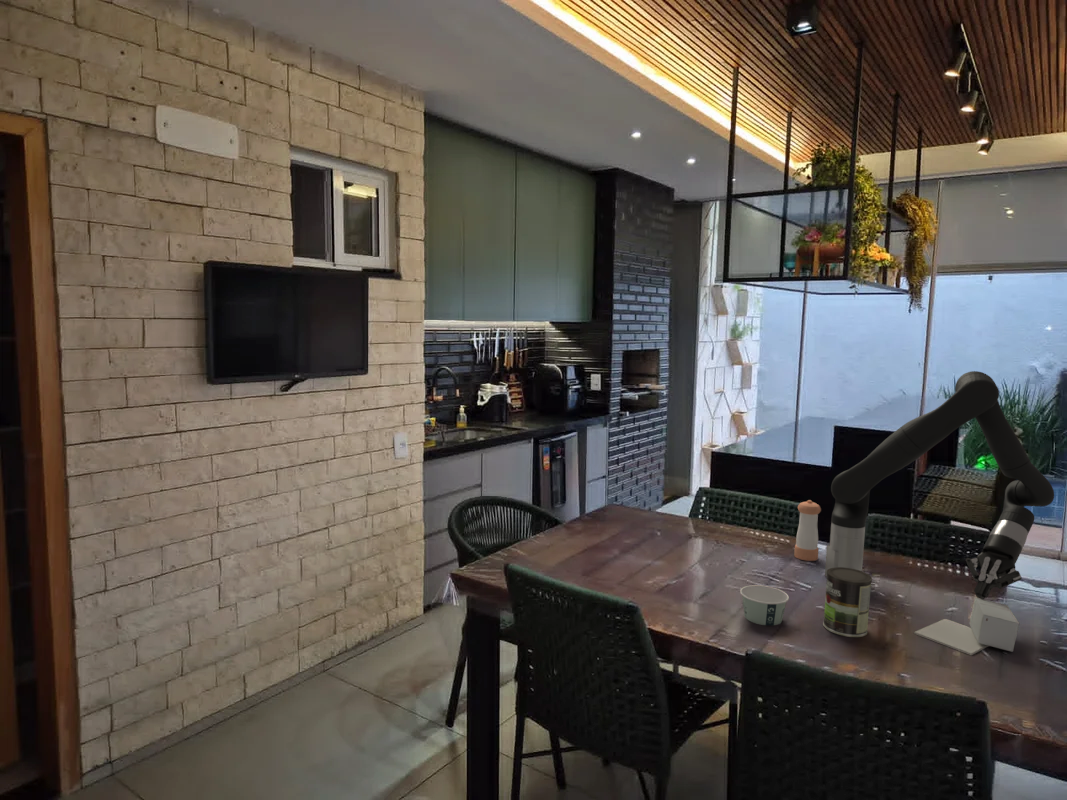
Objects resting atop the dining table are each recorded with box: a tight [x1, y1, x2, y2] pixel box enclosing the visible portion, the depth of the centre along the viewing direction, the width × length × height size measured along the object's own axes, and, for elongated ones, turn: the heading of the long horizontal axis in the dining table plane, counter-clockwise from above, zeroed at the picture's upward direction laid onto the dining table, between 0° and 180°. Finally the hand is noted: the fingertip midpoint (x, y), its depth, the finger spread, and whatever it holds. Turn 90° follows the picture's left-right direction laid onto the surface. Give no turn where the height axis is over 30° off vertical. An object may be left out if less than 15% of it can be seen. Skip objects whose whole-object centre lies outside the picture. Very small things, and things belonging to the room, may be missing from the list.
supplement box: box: [969, 597, 1020, 652], centre depth 166 cm, size 7×7×13 cm
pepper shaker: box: [793, 499, 822, 562], centre depth 224 cm, size 7×7×19 cm
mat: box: [913, 618, 989, 656], centre depth 168 cm, size 15×13×1 cm
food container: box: [739, 584, 790, 627], centre depth 177 cm, size 12×12×6 cm
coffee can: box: [822, 567, 873, 638], centre depth 171 cm, size 10×10×14 cm
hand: (979, 596), depth 173 cm, fingers closed
